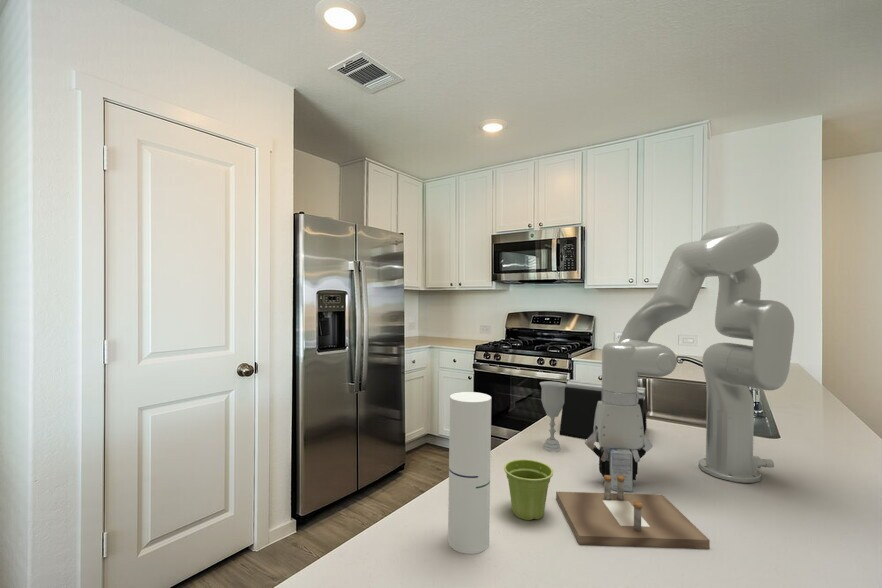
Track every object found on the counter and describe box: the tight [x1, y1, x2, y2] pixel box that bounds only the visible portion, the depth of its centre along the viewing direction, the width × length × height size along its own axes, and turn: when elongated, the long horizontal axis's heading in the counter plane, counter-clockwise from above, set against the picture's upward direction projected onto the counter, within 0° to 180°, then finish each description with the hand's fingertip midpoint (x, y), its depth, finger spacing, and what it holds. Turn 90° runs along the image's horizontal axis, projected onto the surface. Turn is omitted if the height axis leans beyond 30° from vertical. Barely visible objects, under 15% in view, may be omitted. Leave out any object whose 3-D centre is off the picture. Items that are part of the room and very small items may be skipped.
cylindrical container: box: [447, 391, 492, 555], centre depth 72 cm, size 7×7×25 cm
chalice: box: [539, 380, 567, 453], centre depth 116 cm, size 7×7×18 cm
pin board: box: [555, 475, 711, 550], centre depth 79 cm, size 22×16×6 cm
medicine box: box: [607, 449, 633, 493], centre depth 95 cm, size 8×4×9 cm, turn 168°
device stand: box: [559, 379, 648, 440], centre depth 131 cm, size 22×22×15 cm
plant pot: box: [503, 458, 554, 521], centre depth 82 cm, size 9×9×9 cm
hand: (618, 476), depth 95 cm, fingers open, 5 cm apart
